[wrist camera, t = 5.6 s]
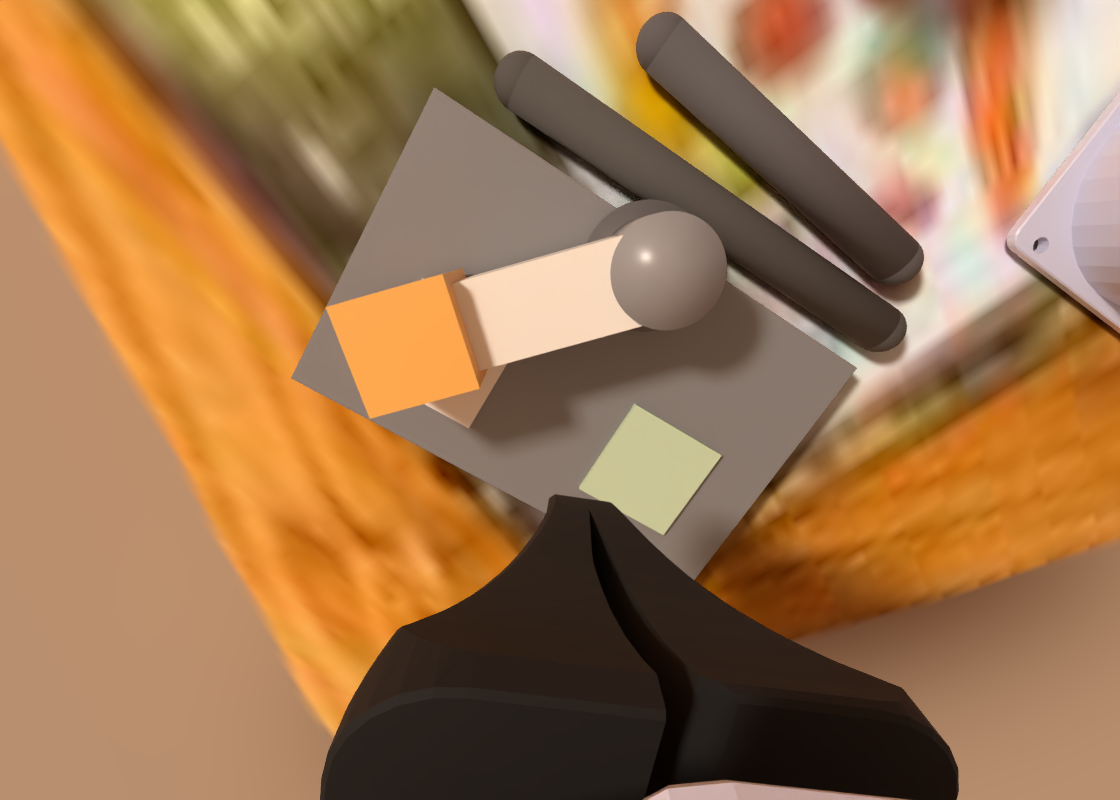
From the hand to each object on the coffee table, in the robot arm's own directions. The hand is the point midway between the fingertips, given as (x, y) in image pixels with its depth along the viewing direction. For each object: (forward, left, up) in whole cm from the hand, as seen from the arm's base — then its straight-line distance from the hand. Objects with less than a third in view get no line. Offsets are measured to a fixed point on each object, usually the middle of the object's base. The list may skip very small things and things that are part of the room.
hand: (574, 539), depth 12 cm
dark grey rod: (0, -8, -8) cm, 12 cm away
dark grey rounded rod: (-1, -11, -8) cm, 14 cm away
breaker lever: (+3, -3, -7) cm, 8 cm away
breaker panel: (+1, -2, -8) cm, 9 cm away
